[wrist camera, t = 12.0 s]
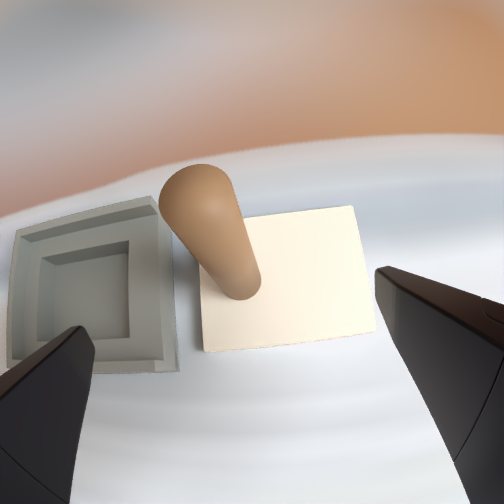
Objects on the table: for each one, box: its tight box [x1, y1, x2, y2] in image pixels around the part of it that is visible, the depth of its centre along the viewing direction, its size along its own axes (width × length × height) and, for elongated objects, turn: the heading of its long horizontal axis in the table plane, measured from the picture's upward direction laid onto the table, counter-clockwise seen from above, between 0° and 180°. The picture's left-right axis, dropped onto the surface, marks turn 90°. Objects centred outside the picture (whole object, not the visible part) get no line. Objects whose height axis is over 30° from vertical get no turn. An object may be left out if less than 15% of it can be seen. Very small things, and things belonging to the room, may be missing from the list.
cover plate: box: [159, 164, 377, 352], centre depth 15 cm, size 10×8×11 cm
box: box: [7, 196, 180, 374], centre depth 19 cm, size 12×10×4 cm
